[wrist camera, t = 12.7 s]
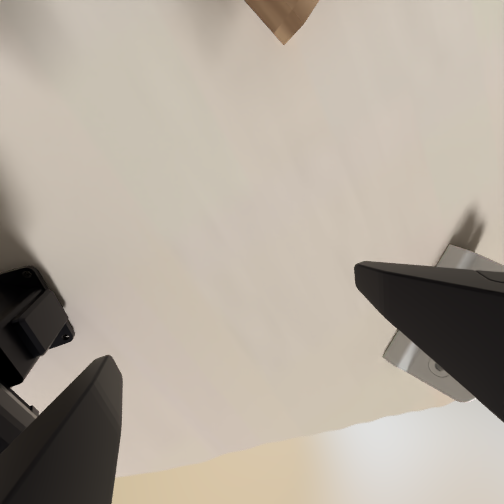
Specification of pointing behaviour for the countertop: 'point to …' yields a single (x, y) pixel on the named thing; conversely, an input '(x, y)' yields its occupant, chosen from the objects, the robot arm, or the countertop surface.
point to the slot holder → (283, 15)
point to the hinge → (413, 357)
